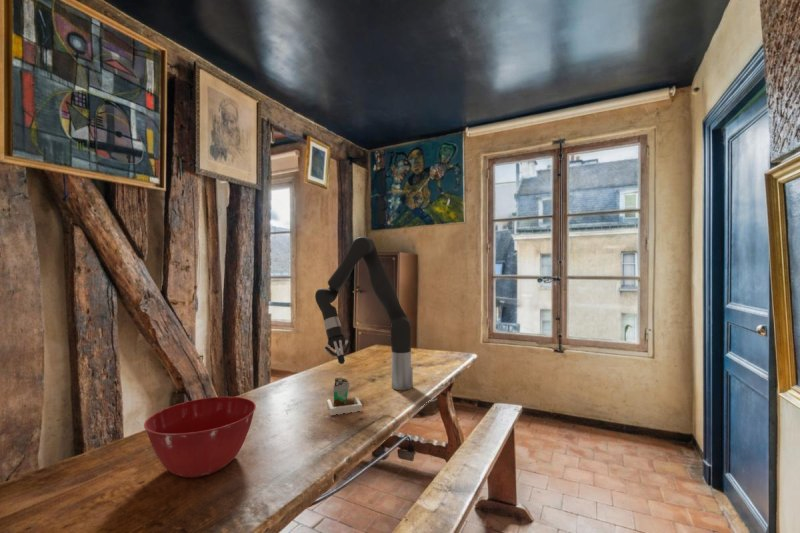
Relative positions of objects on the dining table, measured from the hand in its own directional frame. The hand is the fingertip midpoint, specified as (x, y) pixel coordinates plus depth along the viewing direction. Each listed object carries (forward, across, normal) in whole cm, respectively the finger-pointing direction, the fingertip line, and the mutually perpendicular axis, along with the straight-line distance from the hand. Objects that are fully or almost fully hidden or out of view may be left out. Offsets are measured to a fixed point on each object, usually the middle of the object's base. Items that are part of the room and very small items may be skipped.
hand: (342, 363), depth 171 cm
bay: (+19, -6, -16) cm, 25 cm away
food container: (+18, -6, -13) cm, 23 cm away
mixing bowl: (+22, -53, -42) cm, 72 cm away
